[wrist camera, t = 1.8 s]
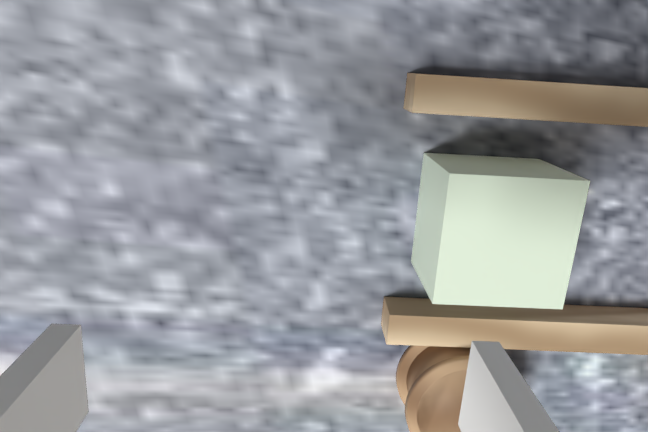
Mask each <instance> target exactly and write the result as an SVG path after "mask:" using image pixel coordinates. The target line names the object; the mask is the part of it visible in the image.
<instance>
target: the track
mask: <svg viewBox="0 0 648 432" xmlns="http://www.w3.org/2000/svg"><path fill="white" fill-rule="evenodd" d="M404 109H406V110H408V111H410V112H412V113H425V114H442V115H459V116H476V117H492V118H509V119H526V120H542V121H559V122H576V123H593V124H609V125H626V126H643V127H648V88H641V87H625V86H609V85H593V84H577V83H561V82H546V81H530V80H514V79H498V78H482V77H466V76H451V75H435V74H419V73H407V81H406V91H405V100H404ZM381 326H382V329H383V333H384V337H385V340H386V344H390V345H415V346H440V347H465V348H471V343H472V341H492V342H500V344H501V345H502V347H503V348H504V349H515V350H540V351H565V352H590V353H615V354H640V355H648V308H631V307H609V306H586V305H564V306H563V309H541V308H517V307H493V306H469V305H444V304H432V302H431V300H430V299H427V298H405V297H384V301H383V311H382V320H381Z"/></svg>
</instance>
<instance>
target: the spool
mask: <svg viewBox="0 0 648 432" xmlns="http://www.w3.org/2000/svg"><path fill="white" fill-rule="evenodd" d="M470 349H471V348H465V347H440V346H415V345H410V346H409V347H408V348H407V349H406V351H405V352H404V354H403V355H402V357H401V359H400V361H399V364H398V367H397V372H396V383H397V387H398V391H399V395H400V397H401V399H402V401H403V403H404V404H405V416H406V420H407V424H408V428H409V431H410V432H461V430H460V428H459V425H458V421H459V415H460V409H461V403H462V397H463V391H464V385H465V379H466V373H467V367H468V361H469V355H470Z"/></svg>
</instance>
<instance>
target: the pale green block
mask: <svg viewBox="0 0 648 432" xmlns="http://www.w3.org/2000/svg"><path fill="white" fill-rule="evenodd" d="M589 185H590V180H587V179H585V178H583V177H580V176H578V175H575V174H573V173H571V172H568V171H566V170H564V169H561V168H559V167H557V166H554V165H552V164H550V163H547V162H545V161H543V160H540V159H532V158H513V157H494V156H476V155H457V154H439V153H424V155H423V164H422V172H421V181H420V189H419V198H418V207H417V215H416V224H415V233H414V241H413V250H412V258H411V262H412V264H413V266H414V268H415V270H416V272H417V274H418V276H419V278H420V280H421V282H422V284H423V286H424V288H425V290H426V292H427V294H428V296H429V298H430V300H431V302H432V304H444V305H469V306H493V307H517V308H541V309H563V306H564V301H565V296H566V292H567V287H568V283H569V278H570V273H571V269H572V264H573V259H574V255H575V250H576V245H577V241H578V236H579V232H580V227H581V222H582V218H583V213H584V208H585V204H586V199H587V194H588V190H589Z"/></svg>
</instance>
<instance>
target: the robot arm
mask: <svg viewBox="0 0 648 432" xmlns="http://www.w3.org/2000/svg"><path fill="white" fill-rule="evenodd" d="M88 412H89V410H88V399H87V388H86V377H85V366H84V354H83V343H82V332H81V325H71V324H51V325H50V326H49V327H48V328H47V329H46V330H45V331H44V332H43V333H42V334H41V335H40V336H39V337H38V338H37V339H36V340H35V341H34V342H33V343H32V344H31V345H30V346H29V347H28V348H27V349H26V350H25V351H24V352H23V353H22V354H21V355H20V356H19V357H18V358H17V359H16V360H15V361H14V363H13V364H12V365H11V366H10V367H9V368H8V369H7V370H6V371H5V372H4V373H3V374H2V375H1V376H0V432H76V431H77V430H78V428H79V426H80V425H81V423H82V422H83V420H84V418H85V417H86V415H87V414H88ZM458 425H459V428H460V430H461V432H559V430H558V429H557V427H556V426H555V424H554V423H553V421H552V420H551V418H550V417H549V415H548V414H547V412H546V411H545V410H544V408H543V407H542V405H541V404H540V402H539V401H538V399H537V398H536V396H535V395H534V393H533V392H532V390H531V389H530V387H529V386H528V384H527V383H526V381H525V380H524V378H523V377H522V375H521V374H520V372H519V371H518V369H517V368H516V366H515V365H514V363H513V362H512V360H511V359H510V357H509V356H508V354H507V353H506V351H505V350H504V348H503V347H502V345H501V344H500V342H492V341H472V343H471V349H470V355H469V361H468V367H467V373H466V379H465V385H464V391H463V397H462V403H461V409H460V415H459V421H458Z"/></svg>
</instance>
